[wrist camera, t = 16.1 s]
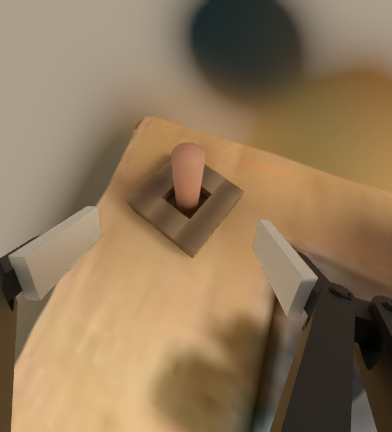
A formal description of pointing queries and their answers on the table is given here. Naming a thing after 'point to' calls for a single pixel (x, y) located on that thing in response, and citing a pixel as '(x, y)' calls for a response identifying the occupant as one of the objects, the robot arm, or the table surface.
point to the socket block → (173, 219)
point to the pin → (187, 175)
